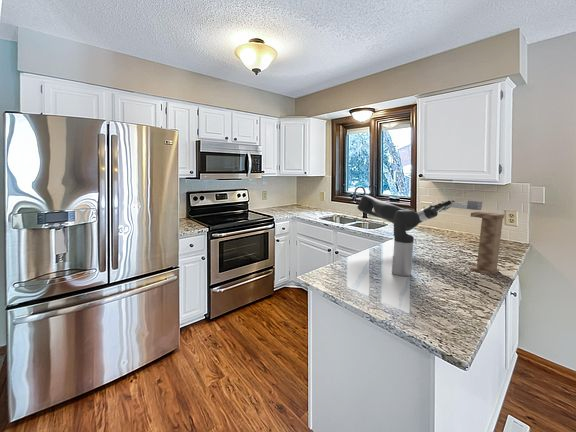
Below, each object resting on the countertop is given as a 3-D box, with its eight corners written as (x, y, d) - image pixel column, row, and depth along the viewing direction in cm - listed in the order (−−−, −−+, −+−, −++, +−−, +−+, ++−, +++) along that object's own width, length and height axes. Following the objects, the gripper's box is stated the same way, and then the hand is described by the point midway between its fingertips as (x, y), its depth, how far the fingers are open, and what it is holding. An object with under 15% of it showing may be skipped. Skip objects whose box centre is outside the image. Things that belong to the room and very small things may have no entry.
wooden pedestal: (465, 268, 162) (470, 212, 157) (473, 265, 168) (479, 211, 163) (490, 275, 152) (497, 215, 147) (498, 271, 158) (505, 214, 153)
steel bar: (440, 206, 173) (441, 198, 173) (445, 206, 176) (446, 198, 175) (476, 210, 156) (477, 201, 156) (481, 210, 159) (482, 201, 158)
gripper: (436, 218, 186) (461, 207, 172) (422, 219, 178) (448, 207, 165) (431, 208, 188) (456, 196, 174) (418, 208, 181) (443, 195, 167)
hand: (452, 202), depth 170 cm, fingers closed on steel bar, 3 cm apart
